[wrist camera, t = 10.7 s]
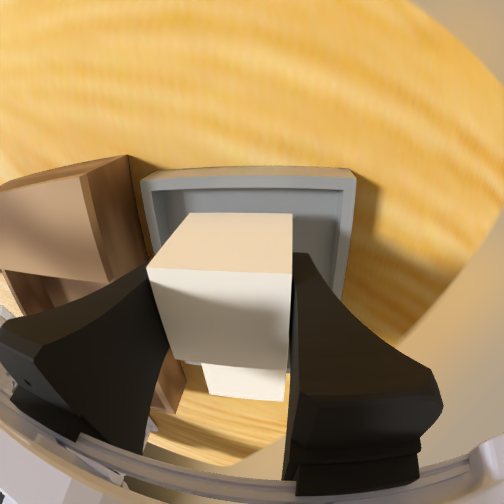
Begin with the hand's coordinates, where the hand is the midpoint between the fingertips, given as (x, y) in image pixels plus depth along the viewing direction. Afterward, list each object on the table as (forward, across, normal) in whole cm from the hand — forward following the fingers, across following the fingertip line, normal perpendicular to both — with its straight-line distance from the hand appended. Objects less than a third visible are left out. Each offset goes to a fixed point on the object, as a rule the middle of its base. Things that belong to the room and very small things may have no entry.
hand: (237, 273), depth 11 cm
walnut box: (+4, +12, +5) cm, 13 cm away
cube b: (+1, 0, 0) cm, 1 cm away
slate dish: (+4, 0, +3) cm, 5 cm away
